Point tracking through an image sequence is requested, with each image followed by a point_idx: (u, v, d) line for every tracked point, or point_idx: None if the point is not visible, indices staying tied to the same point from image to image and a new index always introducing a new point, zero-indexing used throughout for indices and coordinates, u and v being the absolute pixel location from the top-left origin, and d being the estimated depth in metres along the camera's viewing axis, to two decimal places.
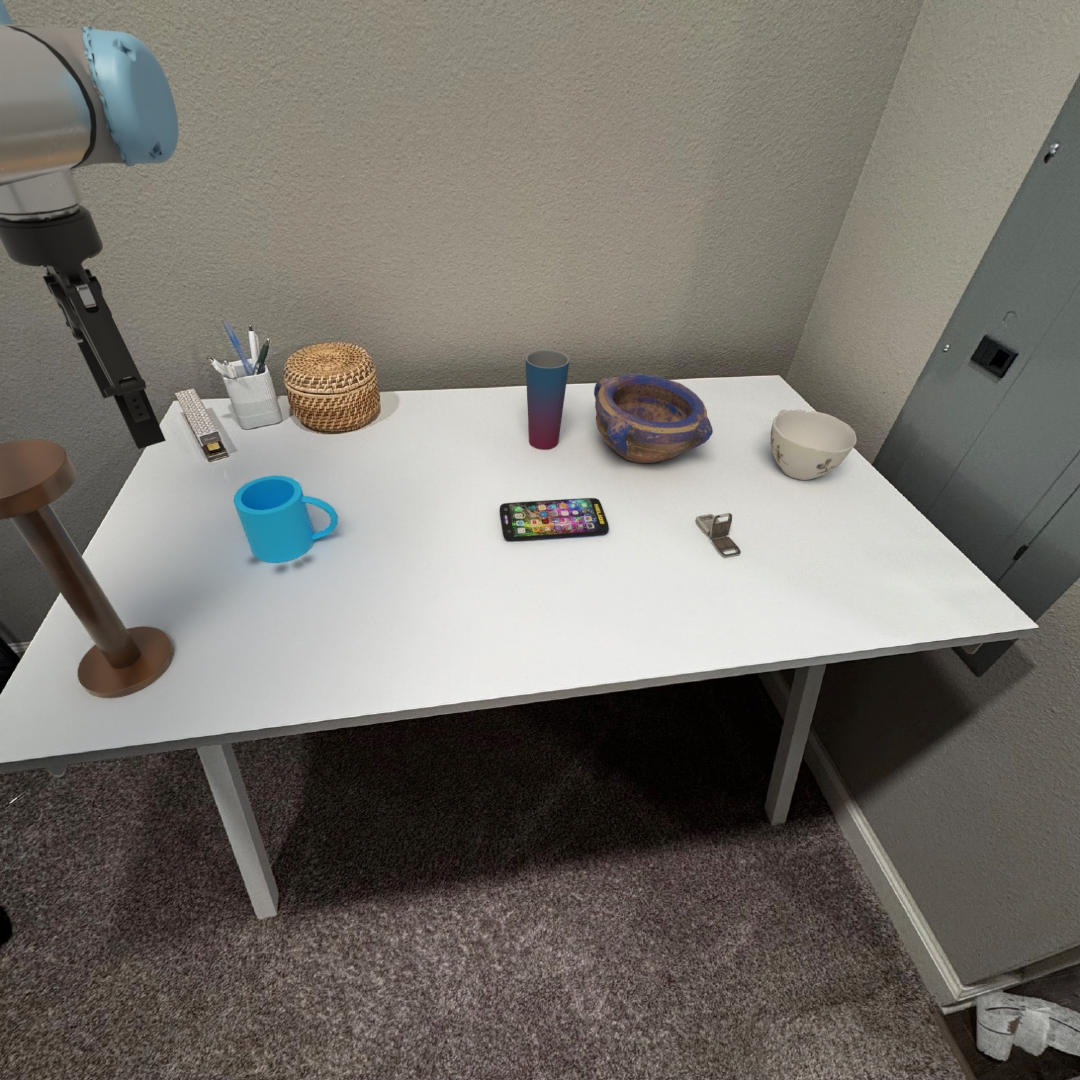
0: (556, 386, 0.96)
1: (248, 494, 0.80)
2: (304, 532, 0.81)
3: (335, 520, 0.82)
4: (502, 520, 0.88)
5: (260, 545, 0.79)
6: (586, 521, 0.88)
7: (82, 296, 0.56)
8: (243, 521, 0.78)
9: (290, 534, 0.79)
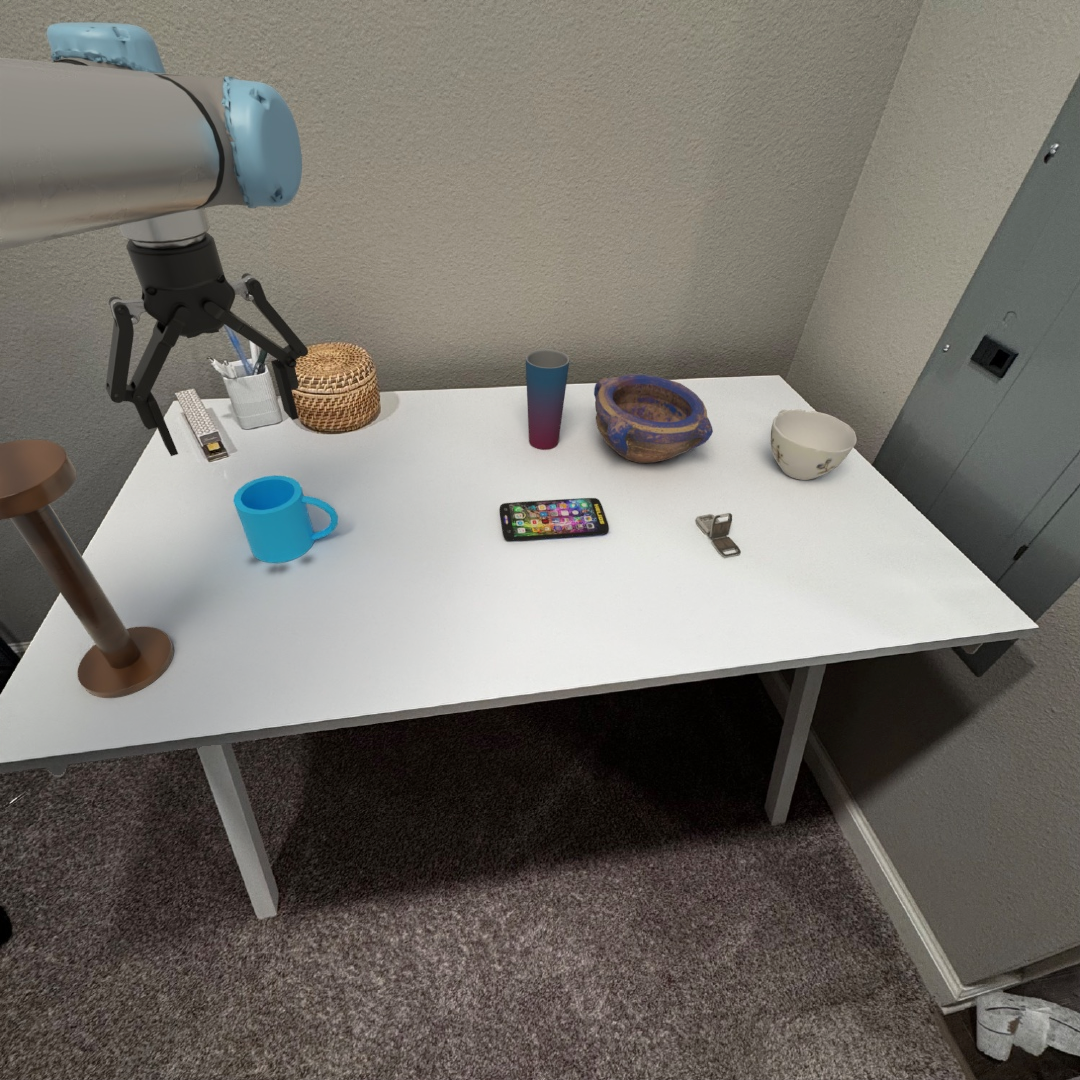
0: (556, 386, 0.96)
1: (248, 494, 0.80)
2: (304, 532, 0.81)
3: (335, 520, 0.82)
4: (502, 520, 0.88)
5: (260, 545, 0.79)
6: (586, 521, 0.88)
7: None
8: (243, 521, 0.78)
9: (290, 534, 0.79)
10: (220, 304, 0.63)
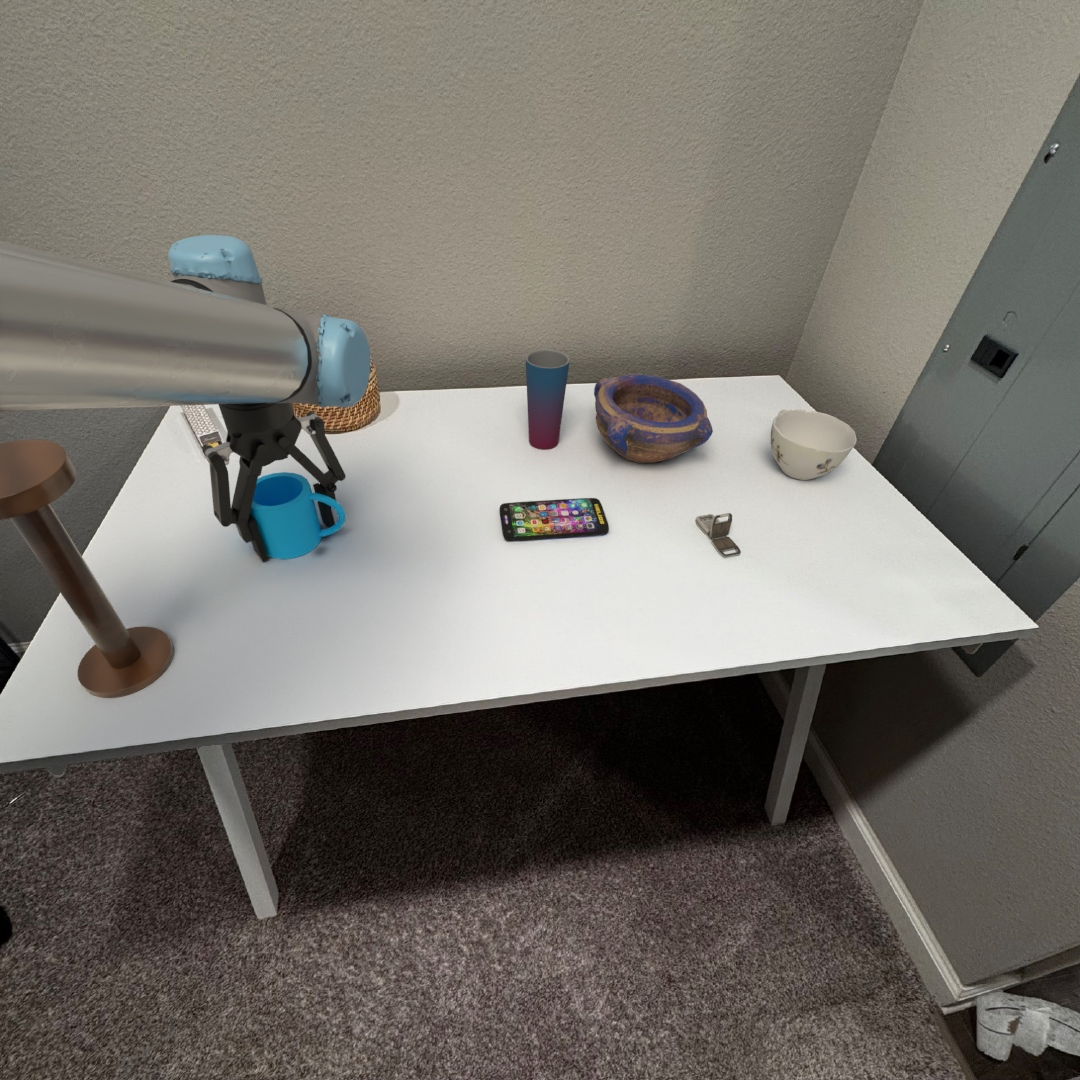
0: (556, 386, 0.96)
1: (257, 490, 0.81)
2: (311, 529, 0.82)
3: (343, 517, 0.83)
4: (502, 520, 0.88)
5: (268, 541, 0.80)
6: (586, 521, 0.88)
7: None
8: None
9: (298, 530, 0.80)
10: (290, 438, 0.75)
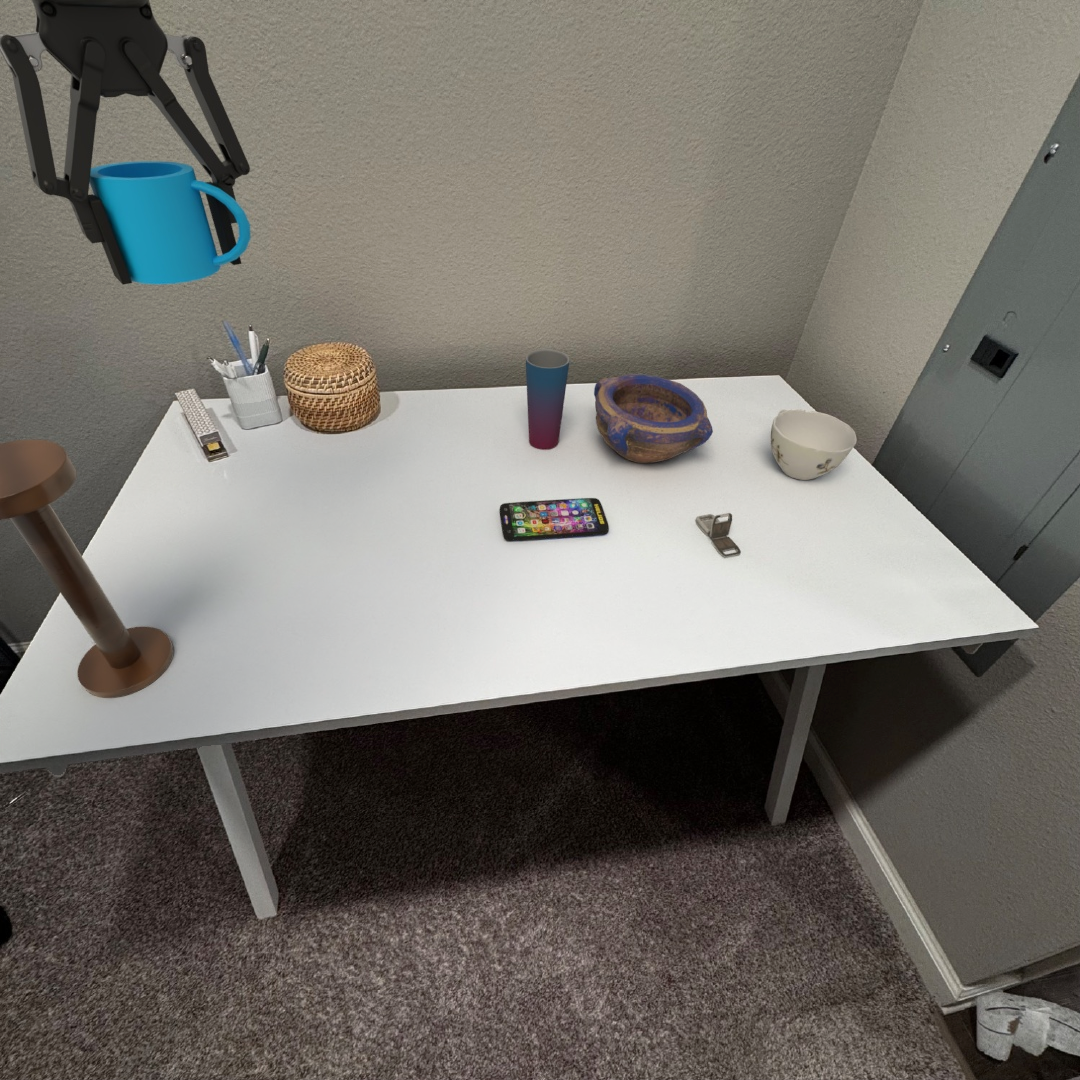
0: (556, 386, 0.96)
1: (115, 177, 0.54)
2: (197, 241, 0.55)
3: (245, 228, 0.56)
4: (502, 520, 0.88)
5: (128, 248, 0.54)
6: (586, 521, 0.88)
7: None
8: None
9: (173, 233, 0.54)
10: (148, 57, 0.48)
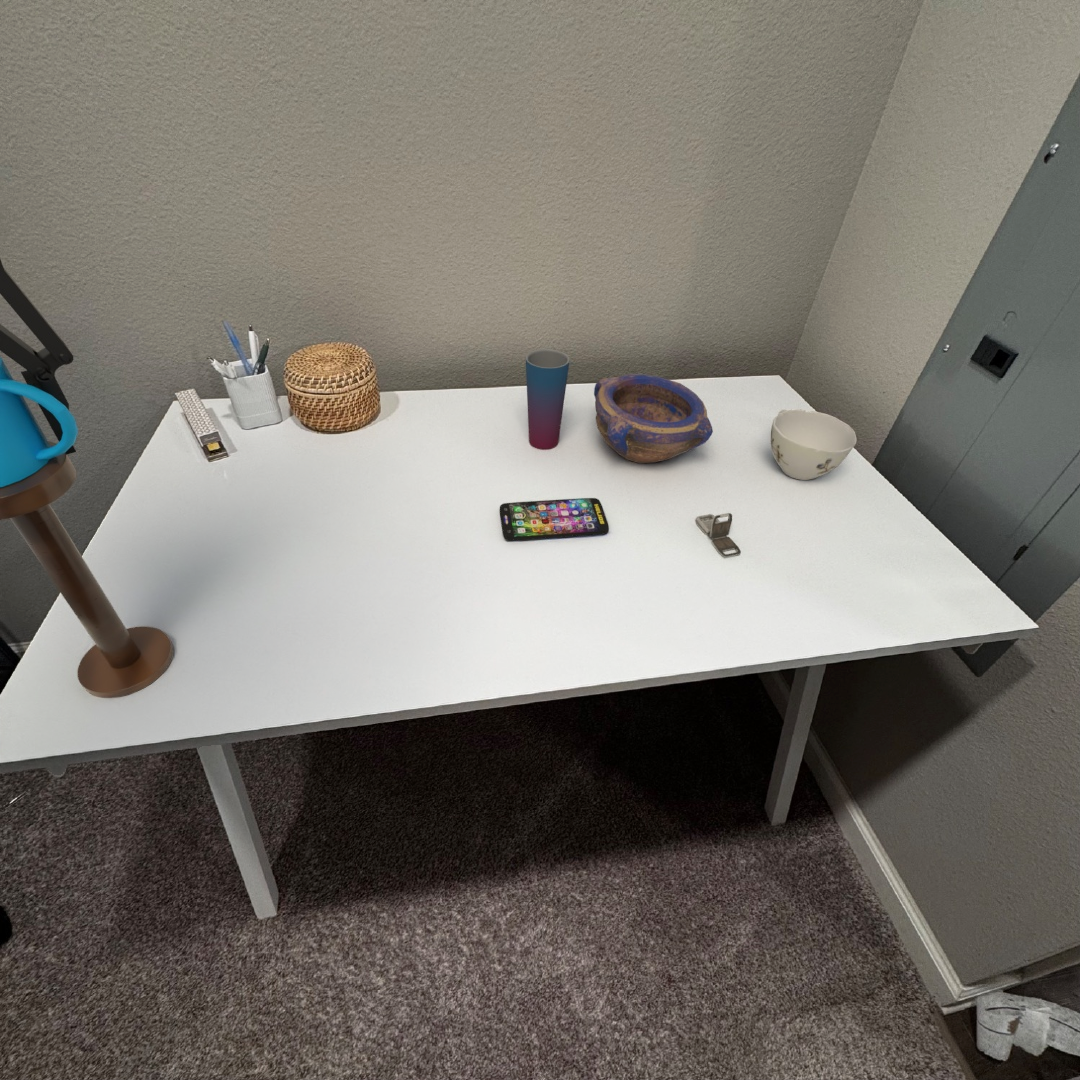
0: (556, 386, 0.96)
1: None
2: (11, 443, 0.49)
3: (68, 425, 0.50)
4: (502, 520, 0.88)
5: None
6: (586, 521, 0.88)
7: None
8: None
9: None
10: None
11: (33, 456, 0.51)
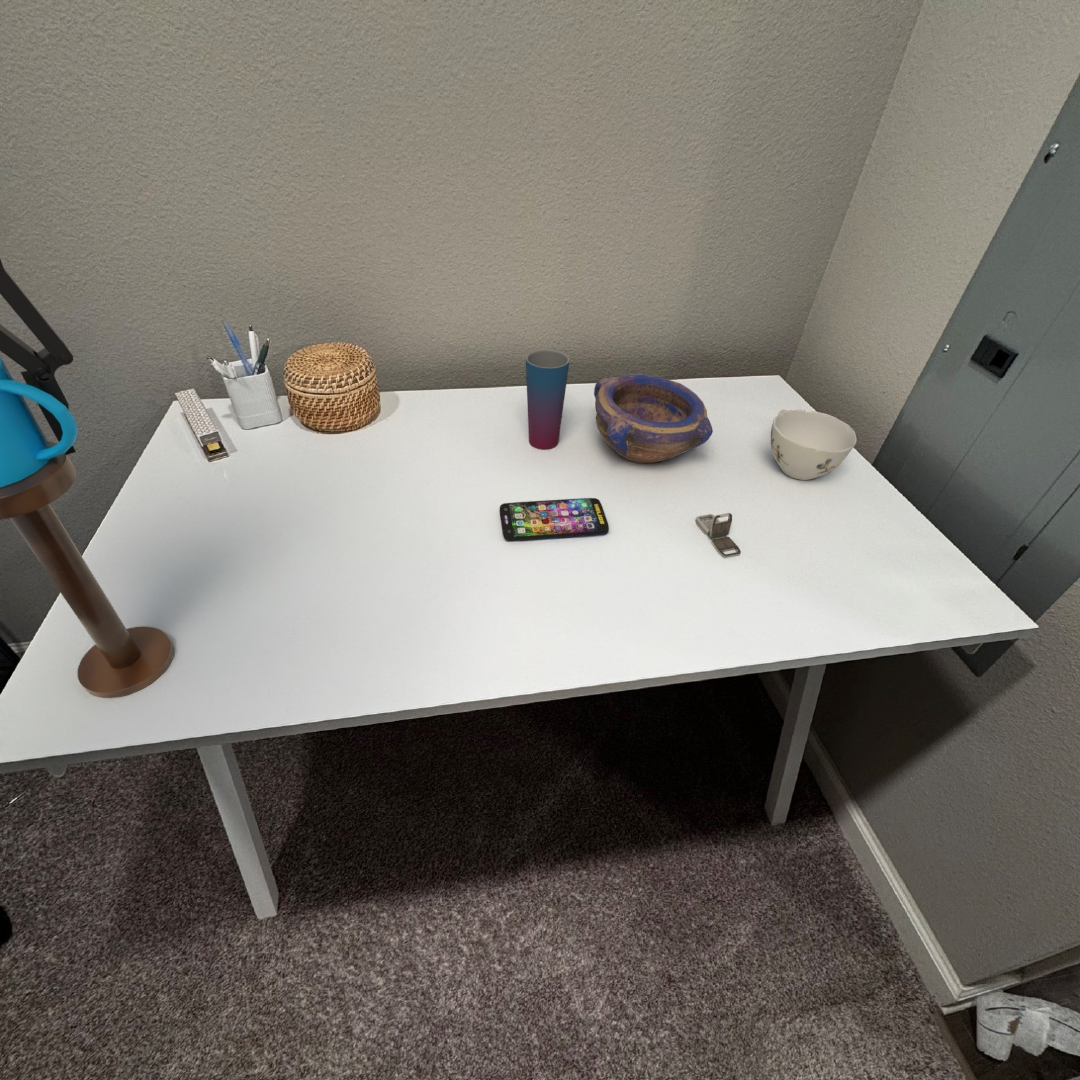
0: (556, 386, 0.96)
1: None
2: (11, 443, 0.49)
3: (68, 425, 0.50)
4: (502, 520, 0.88)
5: None
6: (586, 521, 0.88)
7: None
8: None
9: None
10: None
11: (33, 456, 0.51)
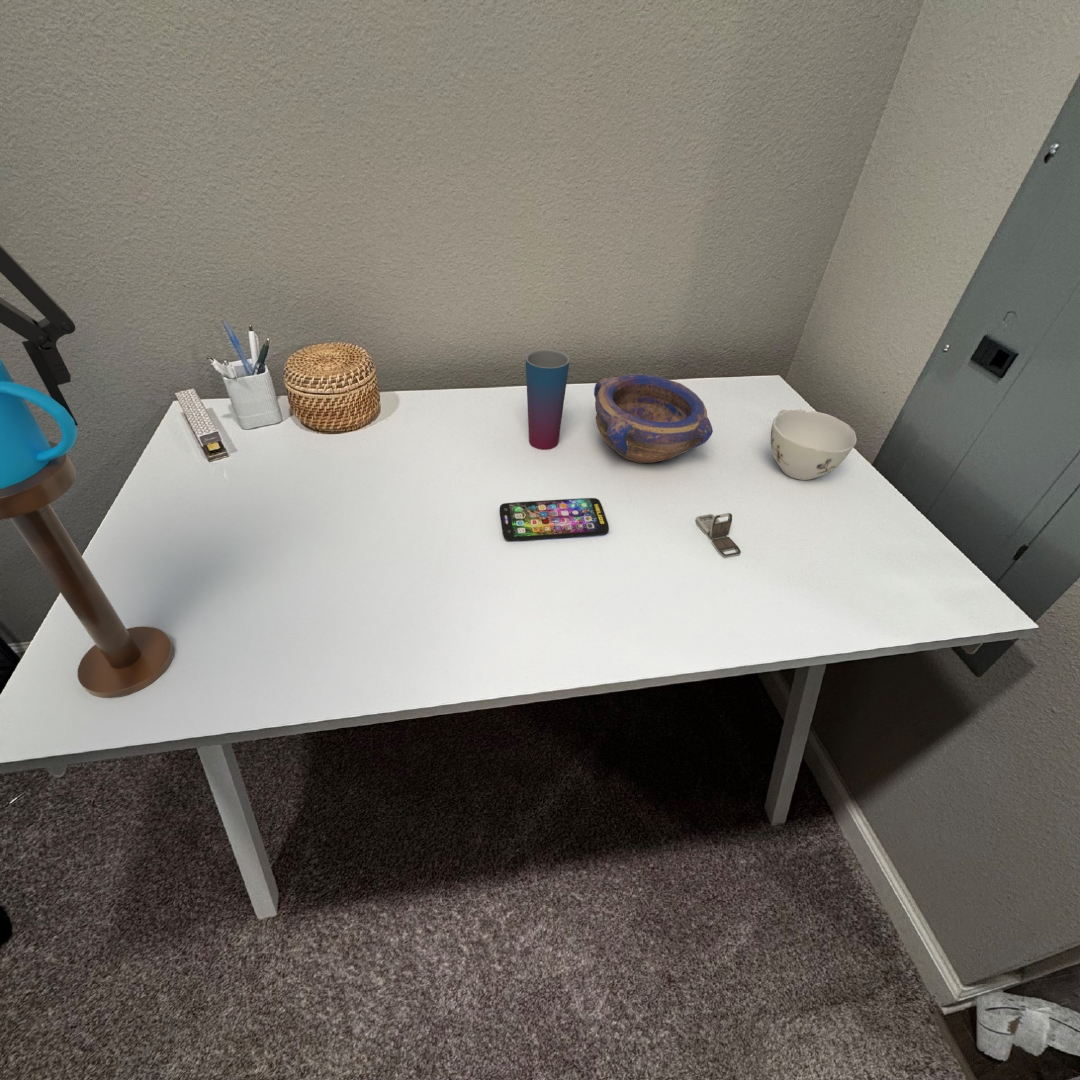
0: (556, 386, 0.96)
1: None
2: (11, 445, 0.49)
3: (67, 427, 0.49)
4: (502, 520, 0.88)
5: None
6: (586, 521, 0.88)
7: None
8: None
9: None
10: None
11: (33, 457, 0.51)
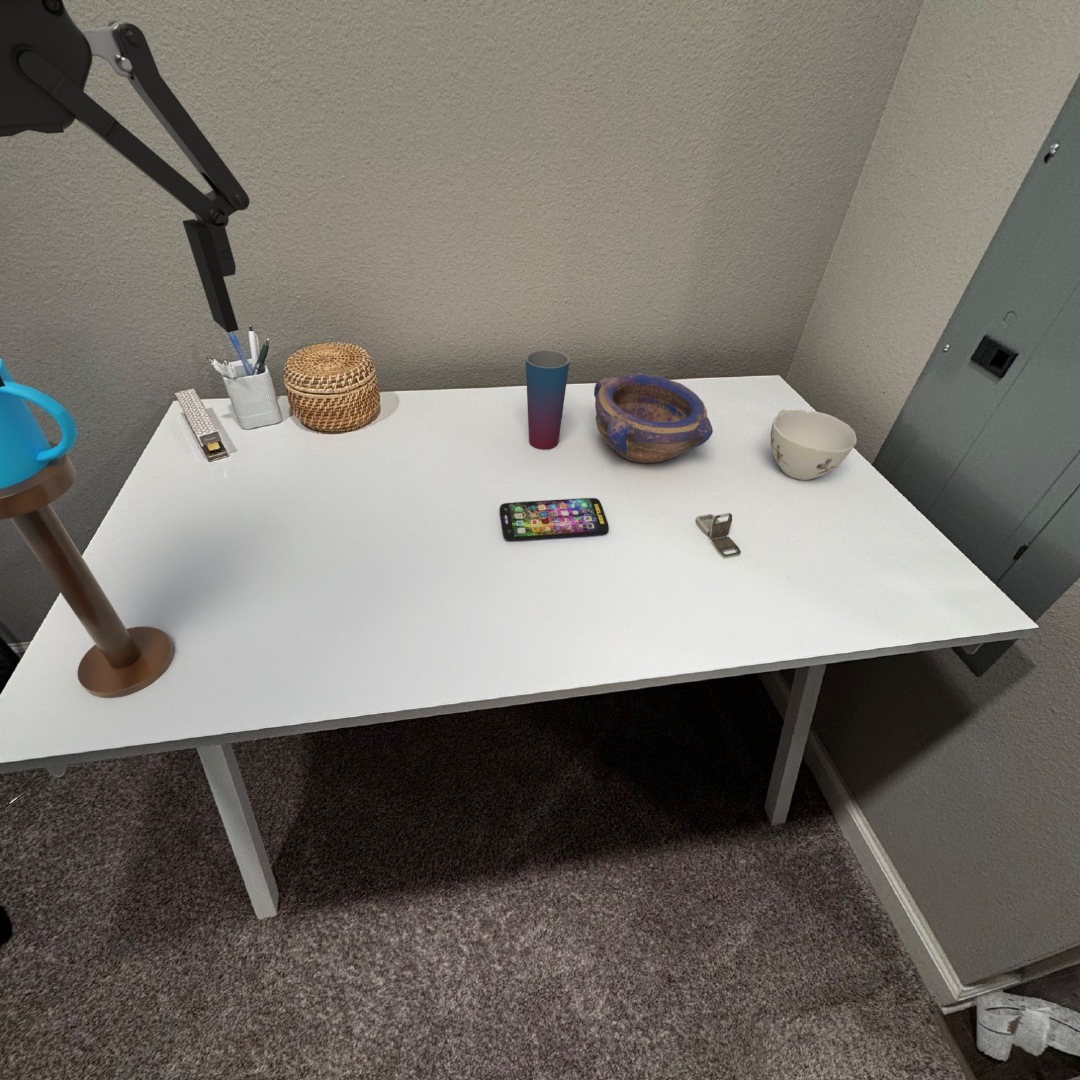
0: (556, 386, 0.96)
1: None
2: (11, 445, 0.49)
3: (67, 427, 0.49)
4: (502, 520, 0.88)
5: None
6: (586, 521, 0.88)
7: None
8: None
9: None
10: (59, 68, 0.31)
11: (33, 458, 0.51)
